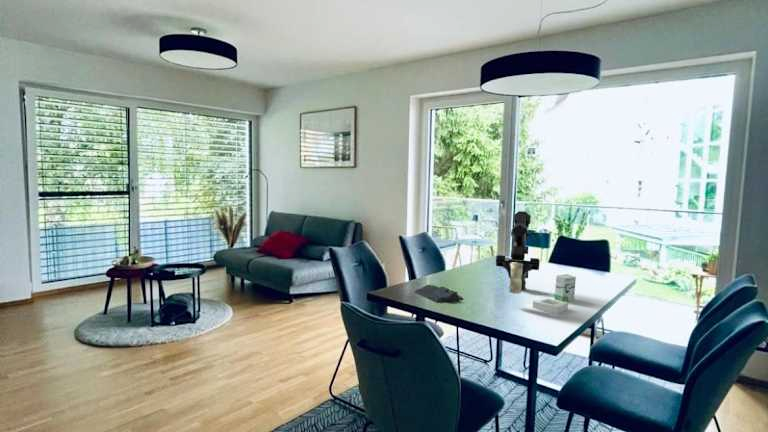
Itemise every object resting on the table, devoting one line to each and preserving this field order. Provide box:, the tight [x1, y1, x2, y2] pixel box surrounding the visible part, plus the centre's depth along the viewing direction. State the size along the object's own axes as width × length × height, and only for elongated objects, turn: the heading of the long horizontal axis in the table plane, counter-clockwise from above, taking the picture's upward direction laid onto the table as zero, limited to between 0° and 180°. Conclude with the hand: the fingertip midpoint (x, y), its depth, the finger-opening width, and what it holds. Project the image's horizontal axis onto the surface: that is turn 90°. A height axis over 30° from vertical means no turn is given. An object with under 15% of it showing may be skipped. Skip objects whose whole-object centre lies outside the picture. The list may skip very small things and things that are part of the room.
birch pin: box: [509, 262, 523, 295], centre depth 190 cm, size 5×5×13 cm
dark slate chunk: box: [414, 284, 464, 304], centre depth 205 cm, size 15×22×5 cm
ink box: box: [554, 274, 577, 302], centre depth 204 cm, size 9×5×12 cm, turn 120°
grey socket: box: [532, 296, 569, 315], centre depth 190 cm, size 11×11×3 cm
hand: (516, 278), depth 188 cm, fingers closed on birch pin, 5 cm apart
